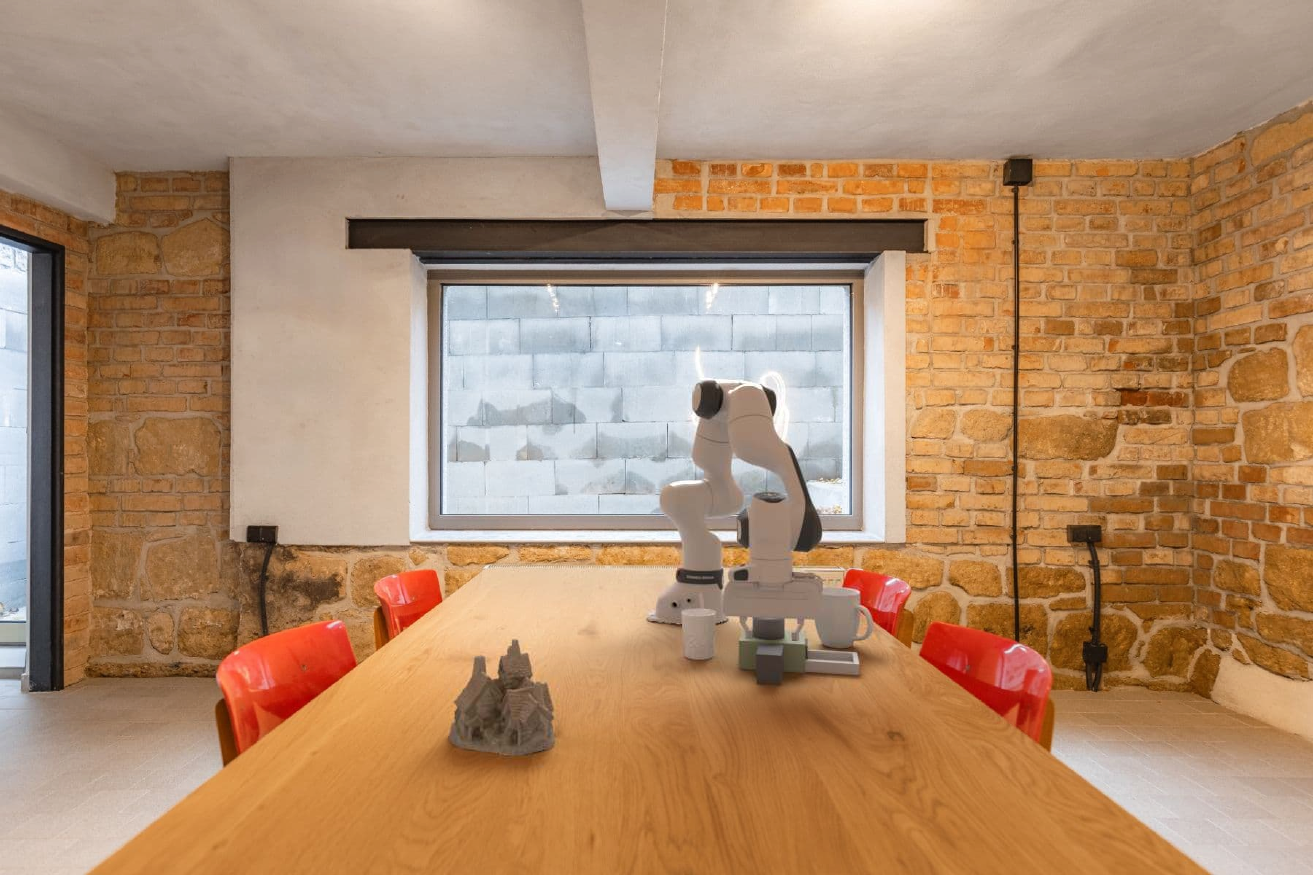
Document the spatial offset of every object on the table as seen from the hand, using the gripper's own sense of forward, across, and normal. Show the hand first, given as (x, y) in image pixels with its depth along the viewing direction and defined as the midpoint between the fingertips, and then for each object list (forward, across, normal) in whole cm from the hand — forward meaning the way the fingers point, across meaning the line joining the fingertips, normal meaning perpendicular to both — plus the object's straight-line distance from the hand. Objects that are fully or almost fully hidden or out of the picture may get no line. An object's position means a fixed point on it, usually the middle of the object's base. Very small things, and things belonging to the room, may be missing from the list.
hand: (772, 639), depth 142 cm
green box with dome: (+8, -5, -11) cm, 14 cm away
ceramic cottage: (+8, +41, +40) cm, 58 cm away
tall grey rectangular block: (+8, 0, 0) cm, 8 cm away
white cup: (+8, +17, -13) cm, 23 cm away
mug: (+8, -15, -29) cm, 33 cm away
